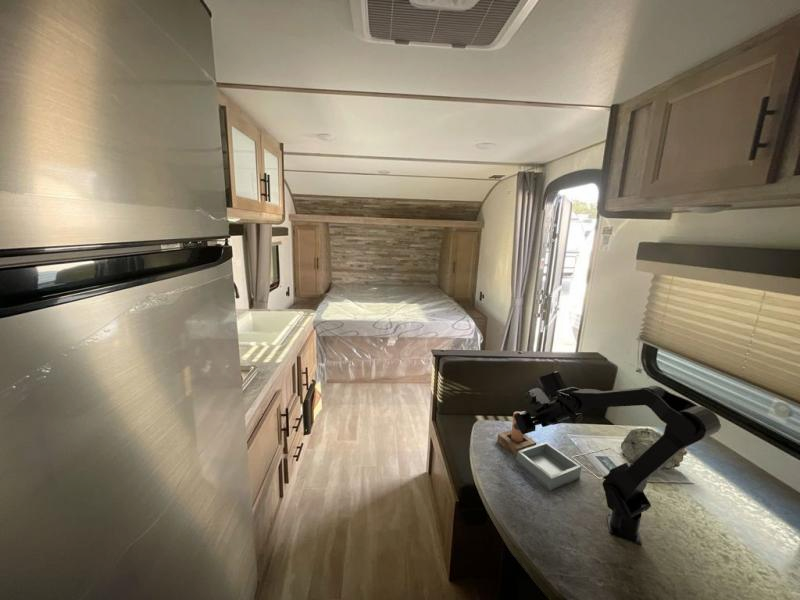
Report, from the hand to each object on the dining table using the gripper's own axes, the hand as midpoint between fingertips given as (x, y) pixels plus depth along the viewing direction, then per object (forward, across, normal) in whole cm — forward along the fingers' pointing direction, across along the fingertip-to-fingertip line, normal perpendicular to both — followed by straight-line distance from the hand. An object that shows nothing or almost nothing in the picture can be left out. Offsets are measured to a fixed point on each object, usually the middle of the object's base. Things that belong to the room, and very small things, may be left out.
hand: (524, 424), depth 108 cm
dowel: (+9, 0, +5) cm, 10 cm away
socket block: (+9, 0, +5) cm, 10 cm away
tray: (-1, 0, +14) cm, 14 cm away
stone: (-8, -37, +22) cm, 43 cm away
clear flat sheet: (-4, -21, +18) cm, 28 cm away
